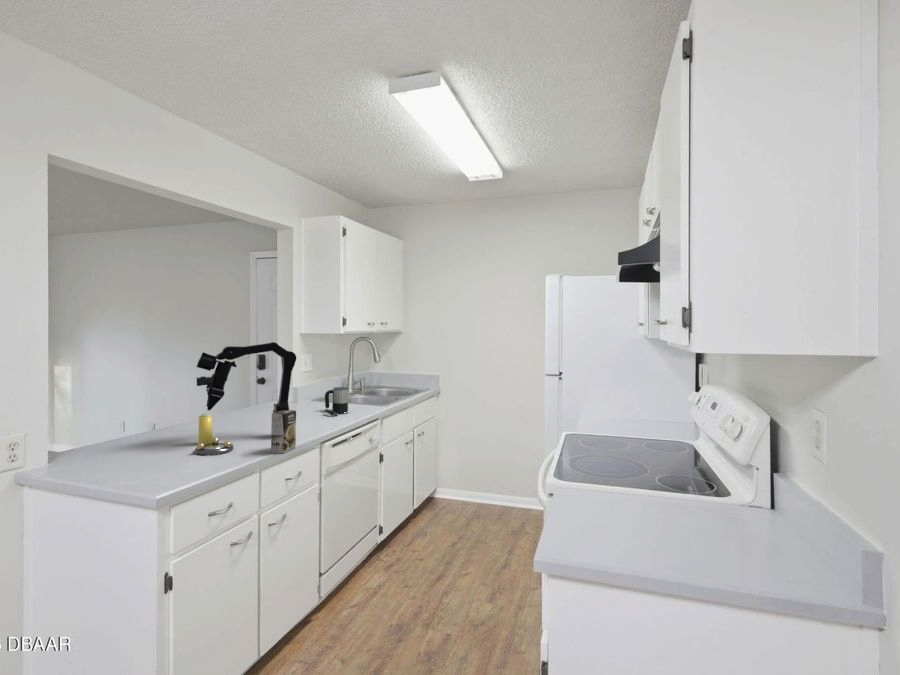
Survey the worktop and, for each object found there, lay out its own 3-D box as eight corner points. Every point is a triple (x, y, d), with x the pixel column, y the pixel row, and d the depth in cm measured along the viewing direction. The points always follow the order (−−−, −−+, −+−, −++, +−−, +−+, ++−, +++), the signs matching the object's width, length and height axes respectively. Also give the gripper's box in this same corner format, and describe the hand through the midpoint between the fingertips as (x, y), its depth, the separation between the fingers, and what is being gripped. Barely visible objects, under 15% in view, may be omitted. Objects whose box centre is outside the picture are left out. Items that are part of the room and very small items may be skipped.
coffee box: (284, 453, 192) (285, 414, 192) (270, 452, 194) (270, 413, 193) (296, 448, 201) (296, 410, 201) (282, 447, 203) (283, 409, 202)
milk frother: (347, 411, 287) (348, 386, 287) (350, 416, 272) (351, 390, 272) (323, 412, 283) (323, 387, 282) (325, 417, 268) (325, 390, 267)
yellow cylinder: (215, 442, 207) (215, 413, 207) (206, 445, 202) (206, 415, 202) (204, 442, 208) (204, 412, 208) (195, 444, 203) (196, 415, 203)
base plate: (222, 444, 204) (222, 435, 204) (240, 450, 196) (240, 440, 196) (188, 451, 193) (188, 441, 193) (205, 457, 185) (205, 447, 185)
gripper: (201, 366, 212) (188, 400, 210) (202, 370, 196) (187, 407, 194) (227, 373, 217) (214, 406, 215) (230, 378, 201) (216, 414, 199)
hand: (208, 408), depth 205 cm, fingers open, 9 cm apart
